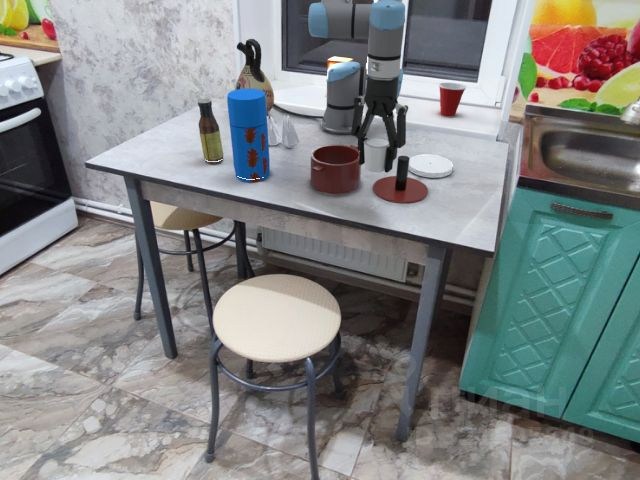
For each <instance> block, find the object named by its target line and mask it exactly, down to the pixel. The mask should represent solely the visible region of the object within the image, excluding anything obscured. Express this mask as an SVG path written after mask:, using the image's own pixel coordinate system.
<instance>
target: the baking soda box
mask: <svg viewBox="0 0 640 480" xmlns="http://www.w3.org/2000/svg"><path fill="white" fill-rule="evenodd" d="M341 62H355V59H354V58H349V57H341V56H331V57H329V58H327V60H326V72H327V71H328V69H329V67H330V66H332V65H334V64H337V63H341Z"/></svg>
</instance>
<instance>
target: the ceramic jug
mask: <svg viewBox="0 0 640 480" xmlns="http://www.w3.org/2000/svg"><path fill="white" fill-rule="evenodd" d="M236 50H238V51H240V52H242V54H243V55H244V56H245V63H244V66H243V68H242V69H241V71H240V74H239V76H238V78H237V81H236V83H235V87H234V90H238V89H258V90H261V91H263V92H264V93H265V97H266V109H267V117H268V118H269V113H270V111H272V109H273V107H274V106H273V104H275V94H274V89H273V86H272V83H271V82H270V80H269V78H268V77H267V76H266V74H265V73H264V72H263V71H264V70H262V69H261V65H262V47H261V44H260V42H259V41H258V40H256V39H254V38H248V39H246V40H245V43H243V42H242V41H239V42H238V43H237V44H236Z"/></svg>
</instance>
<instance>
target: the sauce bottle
mask: <svg viewBox="0 0 640 480" xmlns="http://www.w3.org/2000/svg"><path fill="white" fill-rule="evenodd" d="M212 102H213V101H212V100H211V99H209V98H204V99H199V100H197V106H198V108H199V115H200V118H199V121H198V129H199V137H200V142H201V148H202V155H203V158H204V161H205V159H206V160H208V161H218V160H221V159H223V160H221V161H219V162H207V161H205V163H206V164H209V165H219V164H221V163H222V162H224V150H223V144H222V143H223V142H222V138H221V131H220V125H219V124H218V123H219V122H217V119H216V117H215V115H214V112H213V107H212V104H213V103H212Z"/></svg>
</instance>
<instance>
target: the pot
mask: <svg viewBox="0 0 640 480" xmlns="http://www.w3.org/2000/svg"><path fill="white" fill-rule="evenodd" d="M357 147H358V146H356V145H353V144H350V145H344V144H325V145H321V146H318V147H315V148H314V149H313V150H312V151H311V152H310V185H311V187H312V188H313V189H314V190H316V191H318V192H322V193H323V194H330V195H344V194H349V193H351V192H354V191H356V190H357V189H358V188H359V187H360V185H361V177H362V176H361V175H362V165H359V157H360V151H358V149H357Z"/></svg>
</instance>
